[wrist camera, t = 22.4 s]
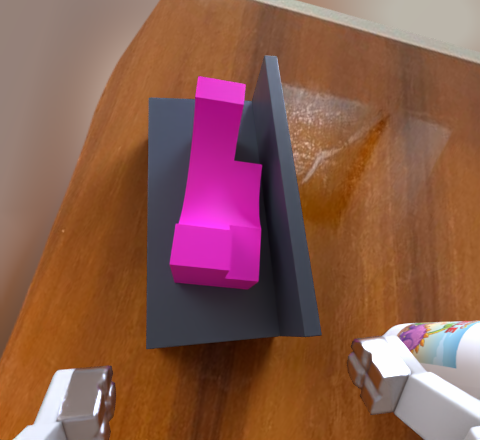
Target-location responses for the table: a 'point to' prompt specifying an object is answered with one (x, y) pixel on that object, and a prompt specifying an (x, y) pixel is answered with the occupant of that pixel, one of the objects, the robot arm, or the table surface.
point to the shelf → (271, 221)
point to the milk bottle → (446, 350)
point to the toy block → (218, 197)
